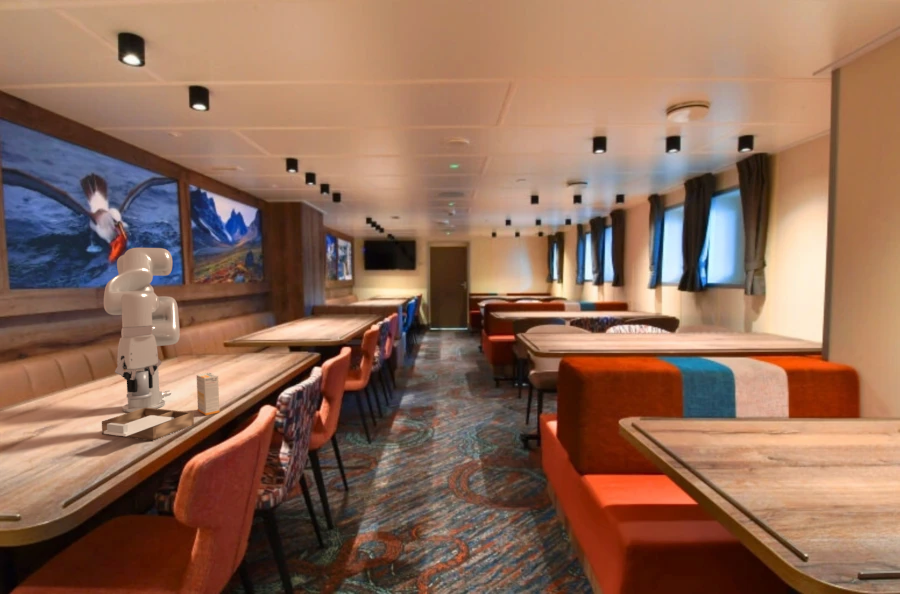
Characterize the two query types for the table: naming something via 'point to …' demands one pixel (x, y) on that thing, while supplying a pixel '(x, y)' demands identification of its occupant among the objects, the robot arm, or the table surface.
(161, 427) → the housing
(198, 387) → the supplement box
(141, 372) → the grey cylinder
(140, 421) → the lid
